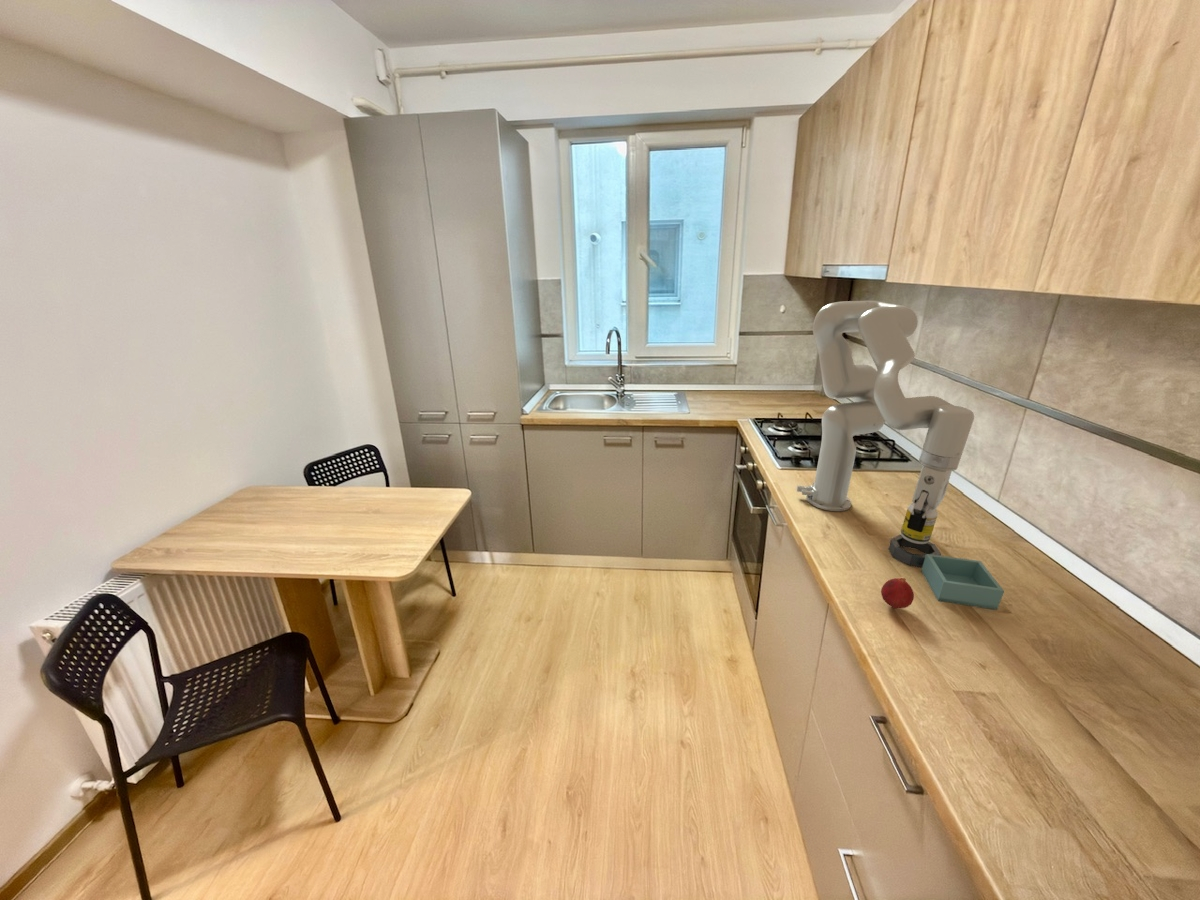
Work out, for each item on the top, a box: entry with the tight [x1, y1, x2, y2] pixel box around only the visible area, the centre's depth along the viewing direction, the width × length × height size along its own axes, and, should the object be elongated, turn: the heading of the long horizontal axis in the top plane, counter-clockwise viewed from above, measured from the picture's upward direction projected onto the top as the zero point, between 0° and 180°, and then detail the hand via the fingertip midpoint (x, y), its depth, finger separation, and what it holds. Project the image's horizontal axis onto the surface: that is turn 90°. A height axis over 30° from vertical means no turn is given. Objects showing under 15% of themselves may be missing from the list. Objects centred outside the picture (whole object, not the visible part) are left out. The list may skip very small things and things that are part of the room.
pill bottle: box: [900, 502, 939, 544], centre depth 115 cm, size 6×6×11 cm
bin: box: [920, 554, 1005, 611], centre depth 105 cm, size 11×11×5 cm
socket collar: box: [887, 533, 942, 569], centre depth 118 cm, size 10×10×3 cm
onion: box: [880, 576, 915, 610], centre depth 99 cm, size 6×6×8 cm
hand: (918, 523), depth 116 cm, fingers closed on pill bottle, 6 cm apart
